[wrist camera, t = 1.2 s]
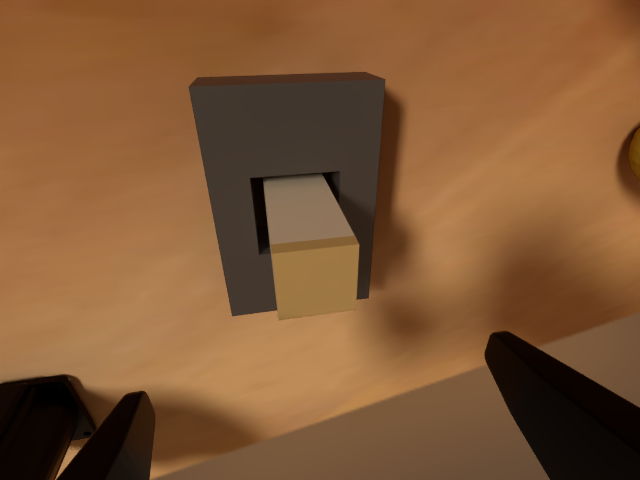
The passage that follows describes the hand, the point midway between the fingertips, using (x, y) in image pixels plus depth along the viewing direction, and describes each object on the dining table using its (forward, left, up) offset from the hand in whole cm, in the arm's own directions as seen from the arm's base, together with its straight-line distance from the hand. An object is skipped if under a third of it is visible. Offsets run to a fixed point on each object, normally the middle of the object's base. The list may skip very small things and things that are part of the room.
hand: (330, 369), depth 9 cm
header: (0, 0, -13) cm, 13 cm away
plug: (0, 0, -13) cm, 13 cm away
